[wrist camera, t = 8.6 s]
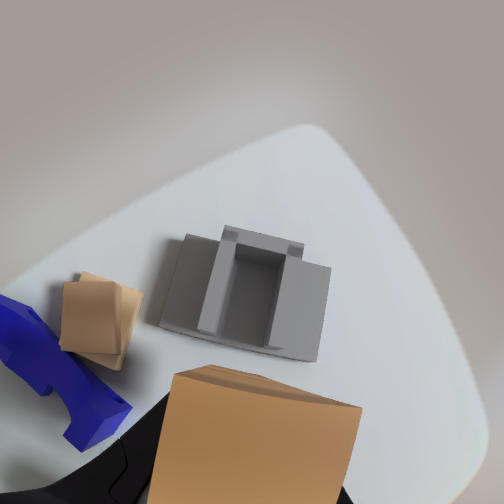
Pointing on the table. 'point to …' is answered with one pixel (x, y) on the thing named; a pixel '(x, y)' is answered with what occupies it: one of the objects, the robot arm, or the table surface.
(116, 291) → the upper offcut
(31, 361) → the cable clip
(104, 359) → the lower offcut
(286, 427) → the tall strip
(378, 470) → the table surface
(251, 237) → the rack
